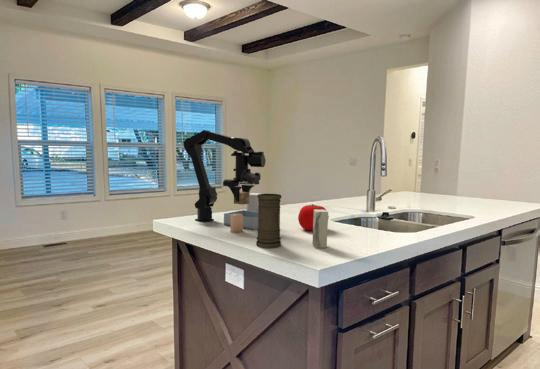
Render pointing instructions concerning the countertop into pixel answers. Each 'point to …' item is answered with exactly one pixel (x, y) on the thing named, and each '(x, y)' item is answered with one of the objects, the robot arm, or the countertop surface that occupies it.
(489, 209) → the countertop surface
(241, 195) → the cube
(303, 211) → the tomato
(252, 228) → the box
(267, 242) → the container
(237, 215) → the cylinder
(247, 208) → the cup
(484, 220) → the countertop surface
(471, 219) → the countertop surface
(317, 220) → the box
